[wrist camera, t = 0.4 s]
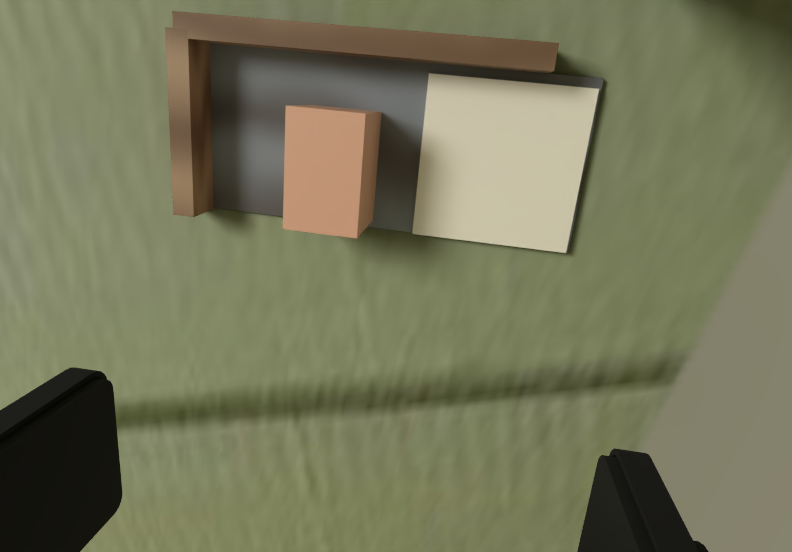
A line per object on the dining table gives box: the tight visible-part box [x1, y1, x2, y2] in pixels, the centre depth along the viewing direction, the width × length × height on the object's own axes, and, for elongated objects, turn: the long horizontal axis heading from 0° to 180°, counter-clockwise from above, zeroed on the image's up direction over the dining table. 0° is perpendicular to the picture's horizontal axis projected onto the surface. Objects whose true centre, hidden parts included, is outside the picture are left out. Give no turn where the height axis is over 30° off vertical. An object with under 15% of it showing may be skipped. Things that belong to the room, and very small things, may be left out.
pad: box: [412, 73, 599, 253], centre depth 33 cm, size 10×10×1 cm
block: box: [283, 105, 382, 238], centre depth 33 cm, size 7×4×5 cm, turn 175°
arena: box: [165, 11, 604, 252], centre depth 33 cm, size 12×26×3 cm, turn 85°
